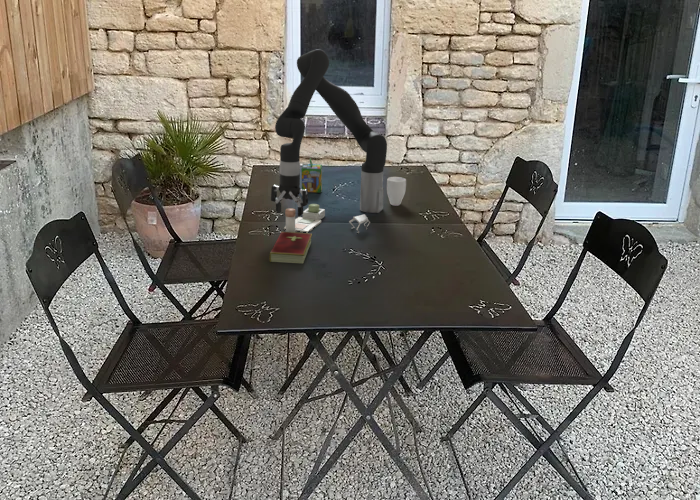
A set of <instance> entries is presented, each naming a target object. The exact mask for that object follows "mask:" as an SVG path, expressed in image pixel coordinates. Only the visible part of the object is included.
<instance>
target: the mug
mask: <svg viewBox="0 0 700 500" xmlns="http://www.w3.org/2000/svg"><path fill="white" fill-rule="evenodd" d="M406 189H407V178H404V177H401V176H389V177H388V178H387V180H386V193H387V197H388V198H387V199H388V200H389V204H390V205H392V206H394V207H395V206H396V207H397V206H401V203H402V200H403V198H404V197H405V194H406Z"/></svg>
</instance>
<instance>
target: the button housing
mask: <svg viewBox="0 0 700 500" xmlns="http://www.w3.org/2000/svg"><path fill="white" fill-rule="evenodd" d="M308 211H309V207H307V208H306V209H304V210H303V214H302V218H309V219H316V220H321V221H322V220H323V218H326V217H325V216H326V209H324V208H319V212H318V213H312V212H308Z"/></svg>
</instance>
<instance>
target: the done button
mask: <svg viewBox="0 0 700 500" xmlns="http://www.w3.org/2000/svg"><path fill="white" fill-rule="evenodd" d="M308 208H309V211H308V212H312V213H318V212H319V209H320V204H317V203H310V204H308Z"/></svg>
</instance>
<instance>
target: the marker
mask: <svg viewBox="0 0 700 500" xmlns="http://www.w3.org/2000/svg"><path fill="white" fill-rule="evenodd" d="M296 212H297V211H296V209H295V208H289V207H288V208H286V209H285V211H284V214H285V215H284V216H285V226H286V230H285V232H294V233H296V231H295V219H296Z"/></svg>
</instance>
